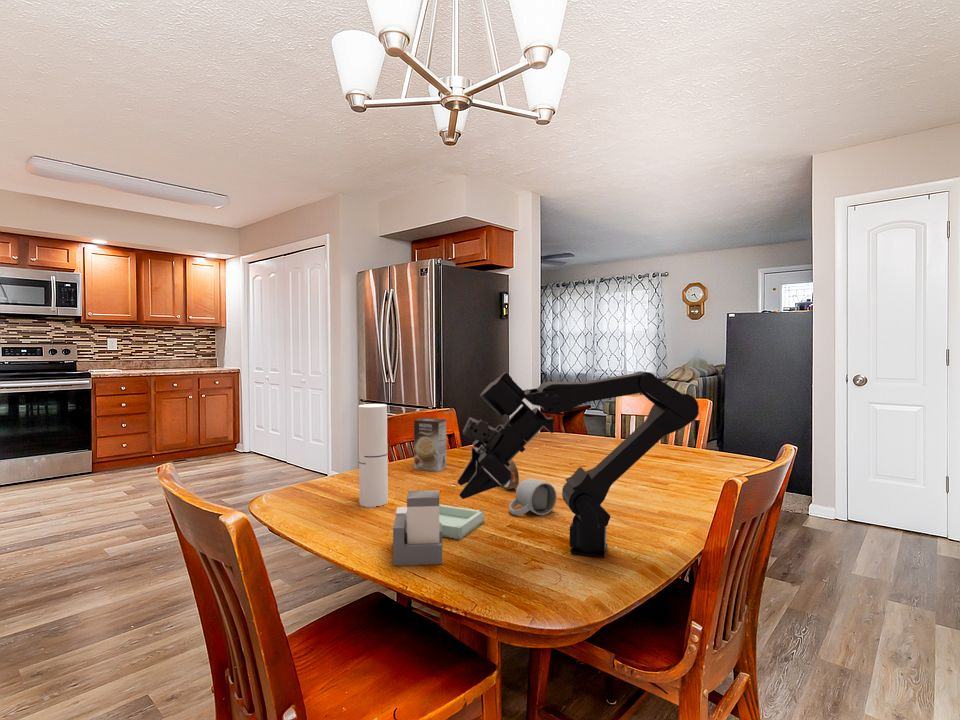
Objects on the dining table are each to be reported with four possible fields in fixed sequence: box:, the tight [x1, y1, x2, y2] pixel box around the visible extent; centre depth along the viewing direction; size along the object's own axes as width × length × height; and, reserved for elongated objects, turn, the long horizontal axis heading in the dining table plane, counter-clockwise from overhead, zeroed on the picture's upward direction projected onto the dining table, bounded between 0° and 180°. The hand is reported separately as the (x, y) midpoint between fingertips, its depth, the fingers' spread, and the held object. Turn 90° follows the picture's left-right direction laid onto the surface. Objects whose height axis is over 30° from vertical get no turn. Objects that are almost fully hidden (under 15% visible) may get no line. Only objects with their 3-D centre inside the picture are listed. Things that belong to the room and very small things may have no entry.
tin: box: [500, 458, 520, 490], centre depth 152 cm, size 15×3×8 cm, turn 22°
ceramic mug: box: [508, 478, 558, 516], centre depth 129 cm, size 11×8×8 cm
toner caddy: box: [406, 489, 440, 544], centre depth 102 cm, size 6×5×12 cm
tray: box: [439, 503, 485, 541], centre depth 119 cm, size 13×12×2 cm
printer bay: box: [392, 506, 443, 567], centre depth 104 cm, size 9×12×7 cm
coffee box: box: [413, 417, 447, 473], centre depth 172 cm, size 9×6×16 cm
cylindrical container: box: [357, 403, 389, 508], centre depth 136 cm, size 7×7×25 cm
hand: (459, 490), depth 103 cm, fingers open, 9 cm apart
